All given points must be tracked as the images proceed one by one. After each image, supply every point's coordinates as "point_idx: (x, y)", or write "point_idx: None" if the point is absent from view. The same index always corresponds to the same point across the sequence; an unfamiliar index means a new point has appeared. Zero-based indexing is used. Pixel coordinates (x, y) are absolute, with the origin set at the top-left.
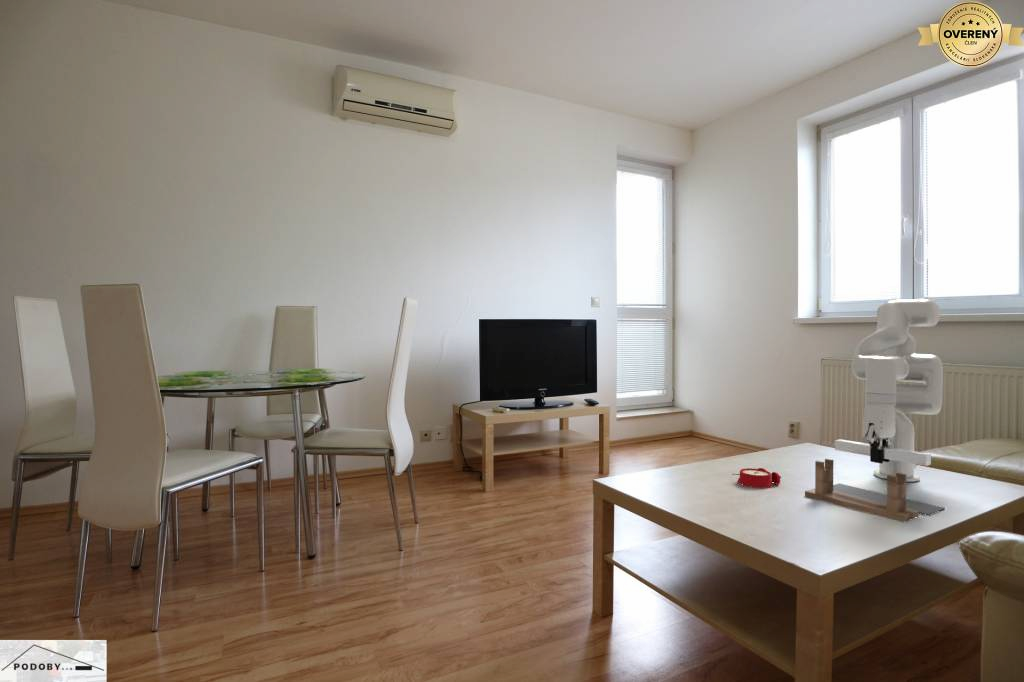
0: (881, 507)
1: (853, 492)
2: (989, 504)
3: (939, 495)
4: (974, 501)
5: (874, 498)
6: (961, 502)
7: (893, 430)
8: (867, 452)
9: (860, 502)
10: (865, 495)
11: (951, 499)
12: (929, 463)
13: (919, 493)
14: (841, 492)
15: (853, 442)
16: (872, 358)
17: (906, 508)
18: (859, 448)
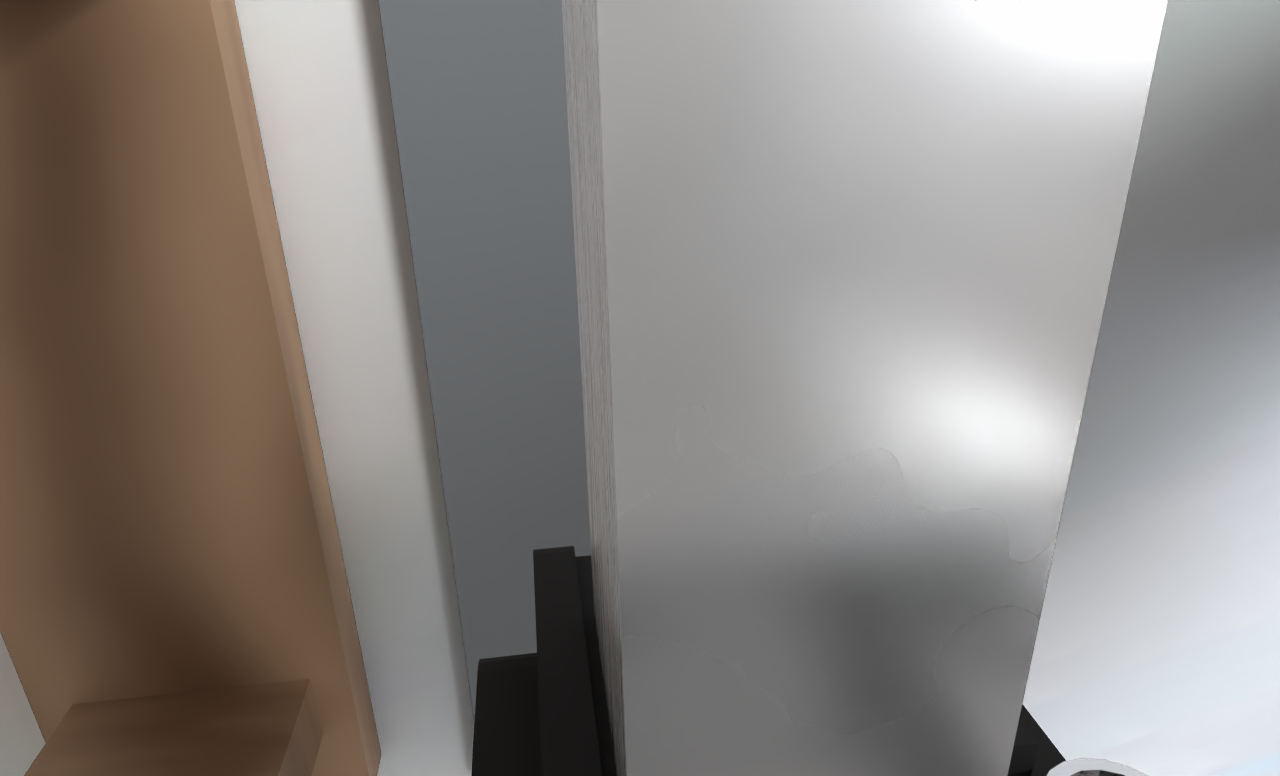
0: (126, 632)
1: (553, 74)
2: (1201, 771)
3: (1230, 523)
4: (1218, 704)
5: (528, 346)
6: (1115, 683)
7: None
8: (596, 577)
9: (53, 452)
10: (557, 230)
11: (1158, 618)
12: None
13: (1180, 415)
14: (224, 79)
15: (836, 56)
16: None
17: (349, 725)
18: (594, 392)
